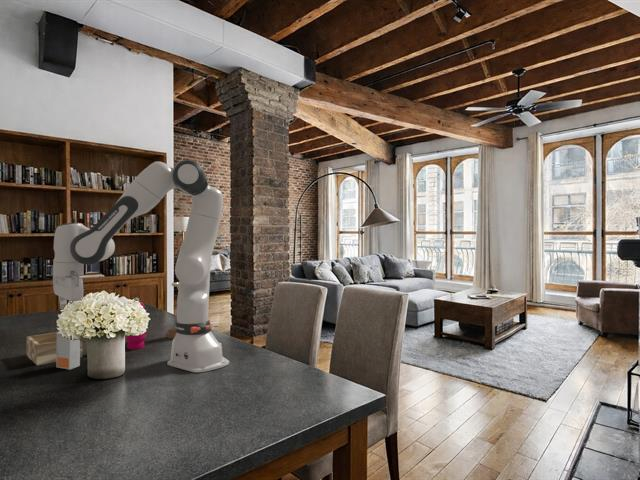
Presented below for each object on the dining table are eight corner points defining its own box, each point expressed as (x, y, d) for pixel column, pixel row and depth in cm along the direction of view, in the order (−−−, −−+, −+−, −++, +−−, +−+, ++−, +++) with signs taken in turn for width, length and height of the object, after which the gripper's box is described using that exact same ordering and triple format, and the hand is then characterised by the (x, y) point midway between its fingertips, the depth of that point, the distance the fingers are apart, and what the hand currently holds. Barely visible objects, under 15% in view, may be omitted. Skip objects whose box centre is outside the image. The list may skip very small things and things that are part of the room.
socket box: (82, 356, 148) (82, 337, 148) (37, 365, 138) (37, 345, 137) (69, 347, 159) (69, 330, 159) (26, 355, 148) (26, 336, 148)
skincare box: (55, 368, 135) (55, 332, 135) (66, 364, 139) (67, 329, 139) (69, 370, 134) (69, 334, 133) (80, 366, 138) (80, 331, 138)
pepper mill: (140, 350, 157) (141, 299, 157) (122, 349, 158) (122, 298, 157) (148, 344, 165) (149, 296, 164) (131, 344, 165) (131, 296, 164)
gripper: (89, 272, 131) (88, 314, 131) (70, 267, 145) (69, 305, 145) (67, 273, 127) (66, 317, 127) (49, 268, 141) (48, 307, 141)
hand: (67, 310), depth 136 cm, fingers open, 8 cm apart
